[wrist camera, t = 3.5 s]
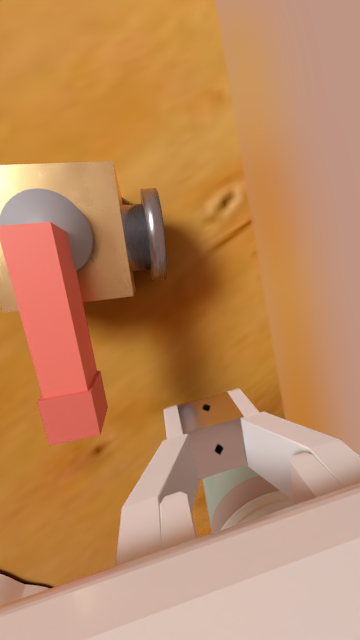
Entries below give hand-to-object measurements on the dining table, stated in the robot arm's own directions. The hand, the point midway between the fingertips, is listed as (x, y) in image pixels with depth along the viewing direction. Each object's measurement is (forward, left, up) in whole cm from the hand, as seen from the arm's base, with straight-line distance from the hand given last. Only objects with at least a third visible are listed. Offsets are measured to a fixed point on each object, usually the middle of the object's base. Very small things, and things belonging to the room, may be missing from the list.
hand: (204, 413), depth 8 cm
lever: (+4, +6, -7) cm, 10 cm away
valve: (+8, +6, -14) cm, 17 cm away
